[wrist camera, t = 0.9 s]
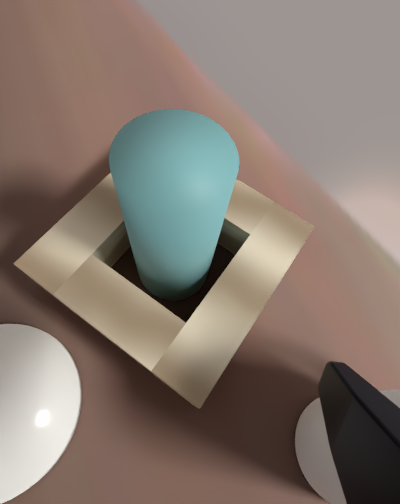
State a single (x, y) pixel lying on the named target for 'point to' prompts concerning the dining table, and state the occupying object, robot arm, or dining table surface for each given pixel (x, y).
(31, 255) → the pocket collar
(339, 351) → the dining table surface
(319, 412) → the mug
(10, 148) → the dining table surface
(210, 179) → the dowel
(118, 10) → the dining table surface
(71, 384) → the pad
